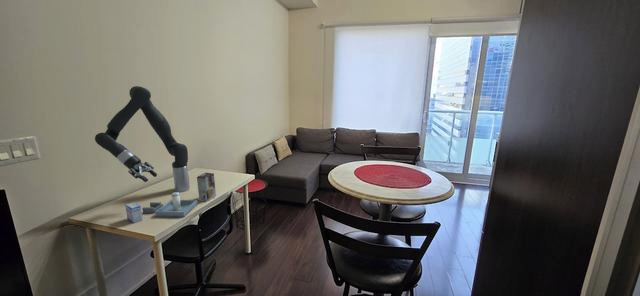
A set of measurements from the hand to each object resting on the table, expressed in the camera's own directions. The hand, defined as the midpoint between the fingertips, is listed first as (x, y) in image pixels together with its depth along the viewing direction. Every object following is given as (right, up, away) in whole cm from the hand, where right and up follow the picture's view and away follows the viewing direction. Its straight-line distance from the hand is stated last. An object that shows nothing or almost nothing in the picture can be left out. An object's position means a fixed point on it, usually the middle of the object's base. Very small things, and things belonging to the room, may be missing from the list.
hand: (151, 178), depth 156 cm
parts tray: (+14, -19, +2) cm, 24 cm away
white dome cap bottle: (+14, -18, +1) cm, 23 cm away
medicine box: (-3, -22, -10) cm, 24 cm away
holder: (-1, -19, +2) cm, 19 cm away
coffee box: (+25, -15, +19) cm, 35 cm away
